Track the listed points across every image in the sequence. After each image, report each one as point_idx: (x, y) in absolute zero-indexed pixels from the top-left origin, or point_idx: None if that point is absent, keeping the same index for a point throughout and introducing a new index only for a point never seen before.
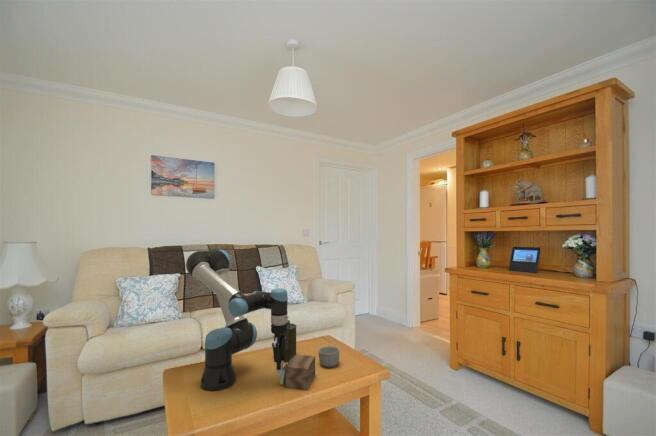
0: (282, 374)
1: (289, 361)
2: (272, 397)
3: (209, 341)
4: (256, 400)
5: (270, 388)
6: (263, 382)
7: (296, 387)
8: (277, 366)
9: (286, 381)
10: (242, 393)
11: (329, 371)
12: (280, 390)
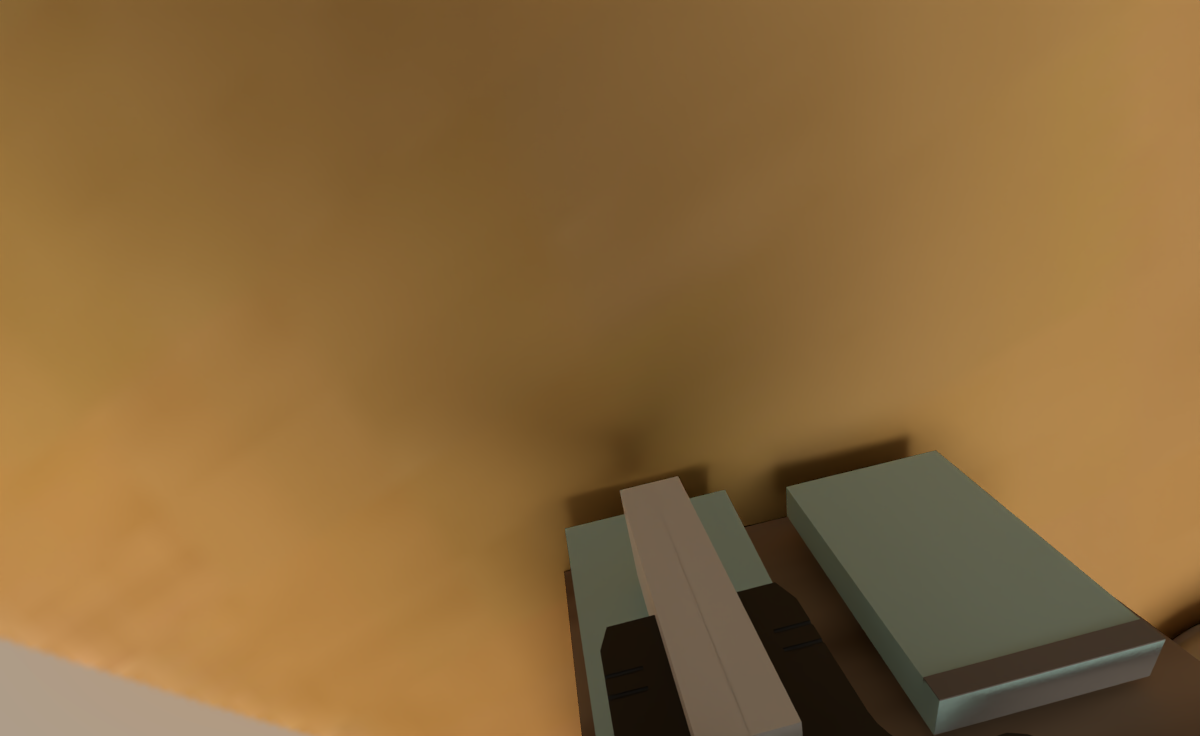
0: (587, 674)
1: (979, 702)
2: (279, 567)
3: None
4: (69, 438)
5: (463, 414)
6: (576, 201)
7: None
8: (612, 712)
9: (574, 650)
10: (51, 74)
11: None
12: (482, 553)
